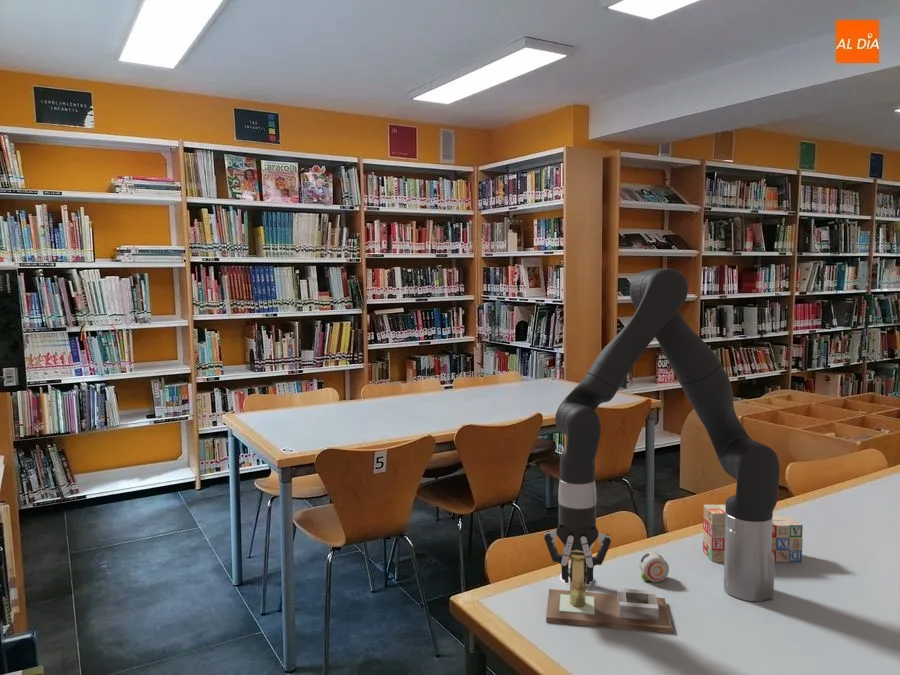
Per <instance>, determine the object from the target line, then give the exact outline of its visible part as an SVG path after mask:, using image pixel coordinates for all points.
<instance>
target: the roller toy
mask: <svg viewBox="0 0 900 675" xmlns="http://www.w3.org/2000/svg"><path fill="white" fill-rule="evenodd" d="M638 565H639V569H640V571H641V578H642V580H643V581H645V582H648V581H650V582H652V583H659V582H663V581H664V580H665V579H666V578H667V577H668V575H669V572H670V566H669V563H668V562H667V561H666V560H665V559H664V557H663V556H662V555H661V554H660V553H658V552H656V551H649V552H646V553H644V554H642V556H641V557H640V559H639V564H638Z"/></svg>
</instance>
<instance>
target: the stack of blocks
mask: <svg viewBox="0 0 900 675" xmlns="http://www.w3.org/2000/svg"><path fill="white" fill-rule="evenodd" d="M725 506H726V504H703V516H702V552H703V553H704V555H705V554H706V555H707V556H708V557H707V556H706V555H705V556H706V557H707V558H708V559H709V561H710V562H711V561H712V563H715V562H716V563H724V553H725ZM772 518H773V519H772V553H773V554H774V557H775V560H774V563H802V561H803V542H804V541H803V528H804V527H803V524H802V523H801V522H799V521H798V520H796V519H795V518H793V517H792V516H790V515H779V516H778V515H773V517H772Z"/></svg>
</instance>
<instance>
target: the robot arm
mask: <svg viewBox="0 0 900 675" xmlns="http://www.w3.org/2000/svg"><path fill="white" fill-rule="evenodd" d="M688 293H689V285H688V281H687V279H686V277H685V276H684V274H682V273H681V271H678V270H676V269H674V268H669V267H668V268H666V267H665V268H662V267H661V268H655V269H653V268H652V269H648V270H643V271H640V272H638V273H636V275H634V277H633V278H632V280H631V282H630V285H629V296H630V300H631V302H632V305H633V307H634V308H635V310H636V311H635V312H634V314H633V315H632V317H631V318H630V319H629V321H628V322H627V323H626V325H624V327H623V328H622V329H621V330H620V331H619V332H618V333H617V335H615V336H614V338H612V339H611V340H610V341H609V342H608V344H607V345H605V346H604V348H603V349H602V350H601V351H600V352H599V354H598V355H597V357H596V358H595V360H594V361H593V363H592V364H591V366H590V367H589V369H588V370H587V372H586V373H585V375H584V377H583V379H582V380H581V381H580V382H579V383H578V384H577V385H576V386H575V387H574V388H573V389H572V390H571V391H570V392H569V394H568V395H567V396H566V397H565V398H564V399H563V400H562V401H561V403H560V404H559V406H558V408H557V410H556V412H555V416H554V424H555V426H556V428H557V429H558V430H559V432H561V433H562V434H564V435H566V436H567V443H566V449H564V450H563V451H561V454H560V457H559V483H558V495H557V500H558V524H557V527H556V529H555V530H552V531H549V530H545V531H544V535H543V537H544V541H545V545H546V546H547V550H548V551H549V552H548V553H549V555H550V557H551V560H552V562H553V563H558V564H560V565H561V566H560V567H561V573H562V580H565V583H568V580H569V577H570V573H569V567H570V561H569V558H570V557H569V555H570V551H571V550H580V551H584V555H585V557H586V584H588V585H589V586H591V585H590V582H592V581H593V579H594V567H595V566H601V565H603V563H604V560H605V557H606V556H607V553H608V551H609V547H610V546H611V542H612V540H611V535H610V534H608V533H605V534H604V533H601V532H599V529H598V528H597V487H596V461H595V460H596V457H597V453H598V449H599V445H600V440H601V434H602V432H601V431H602V428H601V427H602V426H601V424H602V423H601V420H600V417H599V415H598V413H597V411H595V410H596V409H597V408H598V407H599V406H600V405H601V404H603V403H608V402H610V401H611V400H612V399H613V398H614V397H615V395H616V394H617V392H618V390H619V389H620V387H621V386H622V384H623V383H624V381H625V380H626V378H627V376H628V375H629V374H630V371H631V370H632V369H633V367H634V366H635V364H636V362H637V361H638V360H639V358H640V357H641V355H643V353H644V351H645V350H646V349H647V348H648V346H649V345H650V344H651V343H652V341H654V339H656V341H657V343H658V344H659V346H660V348H661V350H662V353H663V354H664V356H665V358H666V359H667V361H668V364H669V365H670V367H671V369H672V371H673V373H674V375H675V377H676V379H677V381H678V383H679V385H680V387H681V389H682V390H683V393H684V394H685V396H686V398H687V399H688V400H689V402H690V404H691V406H692V408H693V410H694V411H695V413H696V415H697V417H698V418H699V420H700V422H701V423H702V425H703V427H704V428H705V431H707V435H708V436H709V440H710V441H711V444H712V446H713V449H714V451H715V455H716V458H717V460H718V462H719V464H720V466H721V468H722V469H723V471H724V472H725V473H726V474H728V476H730V477H732V478H733V479H735V480H736V488H735V495H730V496H729V497H728V498H727V497H726V498H727V499H726V500H725V505H726V506H725V553H724V562H723V564H724V565H723V566H724V567H723V589H724V591H725V592H726V593H727V594H728V595H730V596H732V597H734V598H737V599H739V600H744V601H747V602H762V601H766V600H774V596H775V595H774V594H775V592H774V590H775V562H774V560H775V557H774V554H773V553H772V519H773V518H772V517H773V516H774V514H773V513H774V510H775V508H776V507H777V503H778V497H779V486H780V473H781V472H780V468H781V467H780V461H779V457H778V454H777V452H775V450H774V449H773V448H771V447H770V446H768V445H766V444H764V443H761V442H759V441H757V440H755V439H752V438H751V437H750V435H749V434H748V432H747V431H746V430H745V428H744V426H743V425H742V424H741V421H740V420H739V418H738V416H737V414H736V411H735V410H736V409H735V406H734V393H733V388H732V383H731V380H730V378H729V376H728V374H727V372H726V370H725V368H724V367H723V365H722V363H721V361H720V360H719V358H718V355H716V353H715V352H714V351H713V349H712V348H711V347H710V346H709V345H708V344H707V343H706V342H705V341H704V340H703V339H702V338H701V337H700V336H699V335H698V334H697V333H696V332H695V330H693V329H692V328H691V326H689V325H688V323H687V322H686V320H685V319H684V317H683V315H682V314H681V311H680V309H681V307H682V306H683V305H684V303H685V302H686V299H687V297H688ZM557 537H558V538H559V540H560V541H561V542H562V544H563V551H562V554H561V553H559V551H558V548H557V547H556V544H555V542H556V541H557V540H556V539H557ZM596 540H598V544H599V548H598V551H597V554H596V556H593V554H592V548H590V546H591V545H592V544H593V543H594V544H595V541H596Z"/></svg>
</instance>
